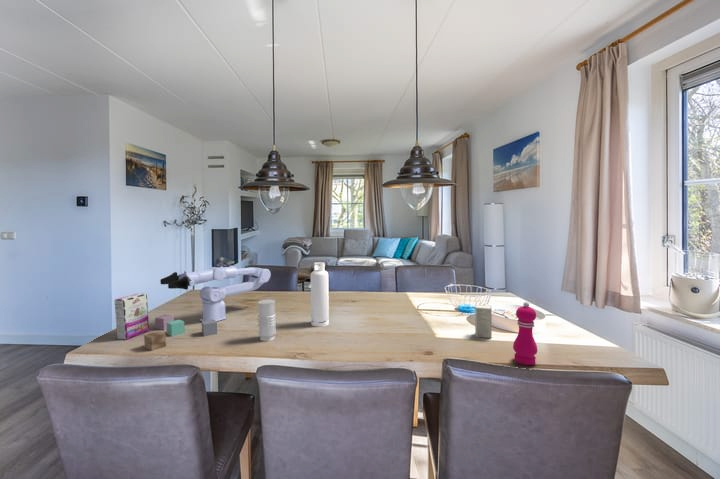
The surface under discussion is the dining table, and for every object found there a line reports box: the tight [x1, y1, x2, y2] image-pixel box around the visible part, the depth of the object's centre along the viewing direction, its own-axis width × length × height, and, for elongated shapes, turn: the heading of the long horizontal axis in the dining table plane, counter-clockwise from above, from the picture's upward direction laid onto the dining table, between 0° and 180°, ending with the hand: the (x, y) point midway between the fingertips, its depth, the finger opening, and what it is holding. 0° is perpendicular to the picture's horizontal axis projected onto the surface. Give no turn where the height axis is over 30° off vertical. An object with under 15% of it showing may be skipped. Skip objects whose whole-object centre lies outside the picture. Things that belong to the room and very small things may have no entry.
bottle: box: [310, 261, 330, 327], centre depth 148 cm, size 8×8×28 cm
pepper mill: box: [512, 301, 538, 366], centre depth 108 cm, size 7×7×20 cm
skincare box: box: [474, 304, 493, 339], centre depth 132 cm, size 6×4×12 cm
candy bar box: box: [114, 292, 150, 341], centre depth 135 cm, size 11×5×16 cm, turn 168°
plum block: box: [154, 314, 175, 331], centre depth 145 cm, size 5×5×5 cm
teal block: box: [166, 319, 186, 337], centre depth 137 cm, size 5×5×5 cm
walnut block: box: [143, 330, 167, 352], centre depth 122 cm, size 5×5×5 cm
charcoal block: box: [201, 320, 218, 337], centre depth 137 cm, size 5×5×5 cm
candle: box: [257, 298, 277, 342], centre depth 131 cm, size 7×7×15 cm
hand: (164, 283), depth 138 cm, fingers open, 7 cm apart
